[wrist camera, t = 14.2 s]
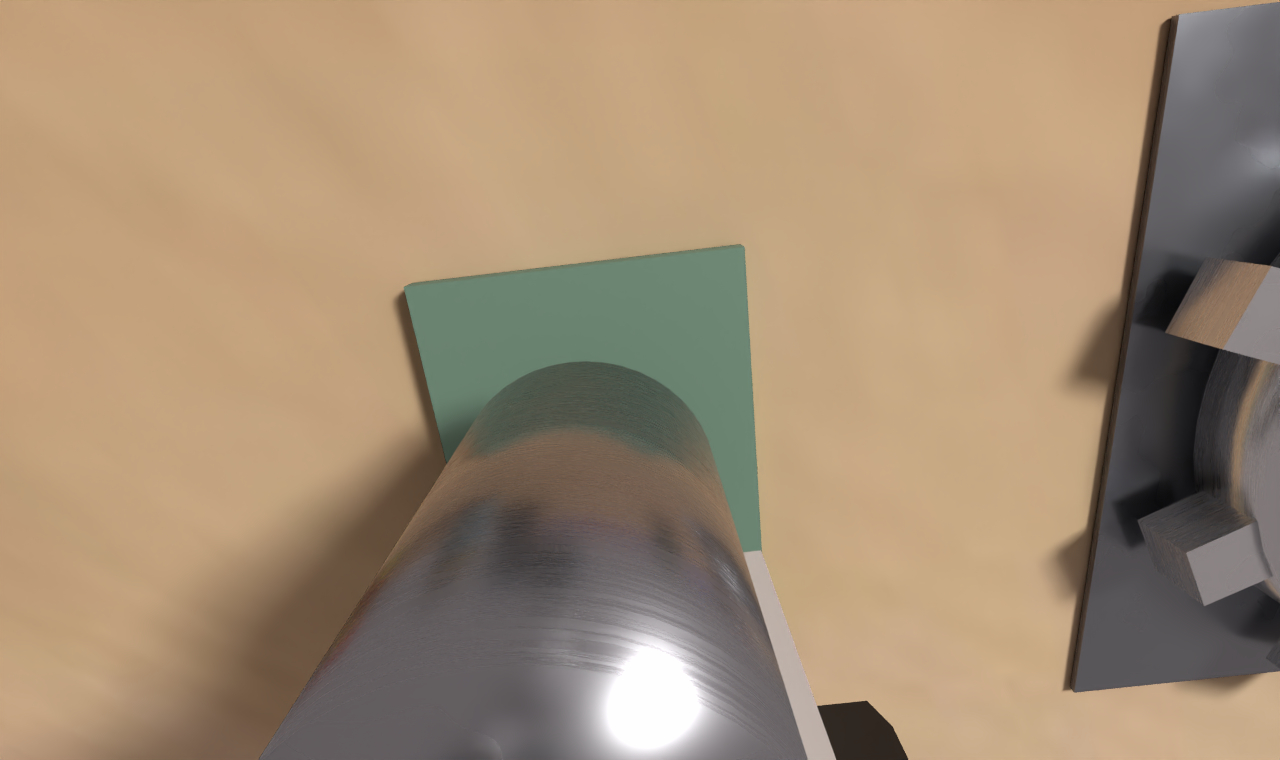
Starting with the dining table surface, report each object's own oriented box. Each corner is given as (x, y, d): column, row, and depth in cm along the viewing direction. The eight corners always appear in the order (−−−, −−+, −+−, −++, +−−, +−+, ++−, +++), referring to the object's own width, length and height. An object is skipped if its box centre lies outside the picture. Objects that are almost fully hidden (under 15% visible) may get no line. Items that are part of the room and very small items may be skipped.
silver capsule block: (434, 377, 12) (98, 719, 4) (704, 346, 12) (841, 641, 4) (531, 790, 16) (440, 1370, 8) (739, 768, 16) (847, 1336, 8)
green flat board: (412, 283, 15) (402, 288, 15) (740, 244, 15) (745, 247, 15) (510, 699, 20) (506, 717, 19) (765, 672, 20) (770, 690, 19)
